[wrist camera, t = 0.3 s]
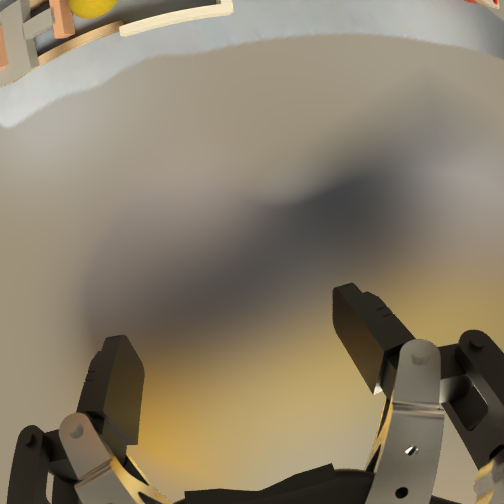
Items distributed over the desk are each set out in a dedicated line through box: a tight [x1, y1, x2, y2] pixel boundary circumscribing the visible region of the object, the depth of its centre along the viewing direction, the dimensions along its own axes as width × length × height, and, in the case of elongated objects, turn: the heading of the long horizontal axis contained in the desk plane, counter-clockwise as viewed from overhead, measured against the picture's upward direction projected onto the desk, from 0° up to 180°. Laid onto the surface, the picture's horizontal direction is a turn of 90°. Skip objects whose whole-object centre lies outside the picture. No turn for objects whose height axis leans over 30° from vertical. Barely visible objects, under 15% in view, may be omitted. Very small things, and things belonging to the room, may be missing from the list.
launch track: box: [10, 0, 124, 84], centre depth 17 cm, size 16×10×2 cm, turn 95°
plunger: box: [0, 0, 75, 87], centre depth 11 cm, size 10×10×16 cm
